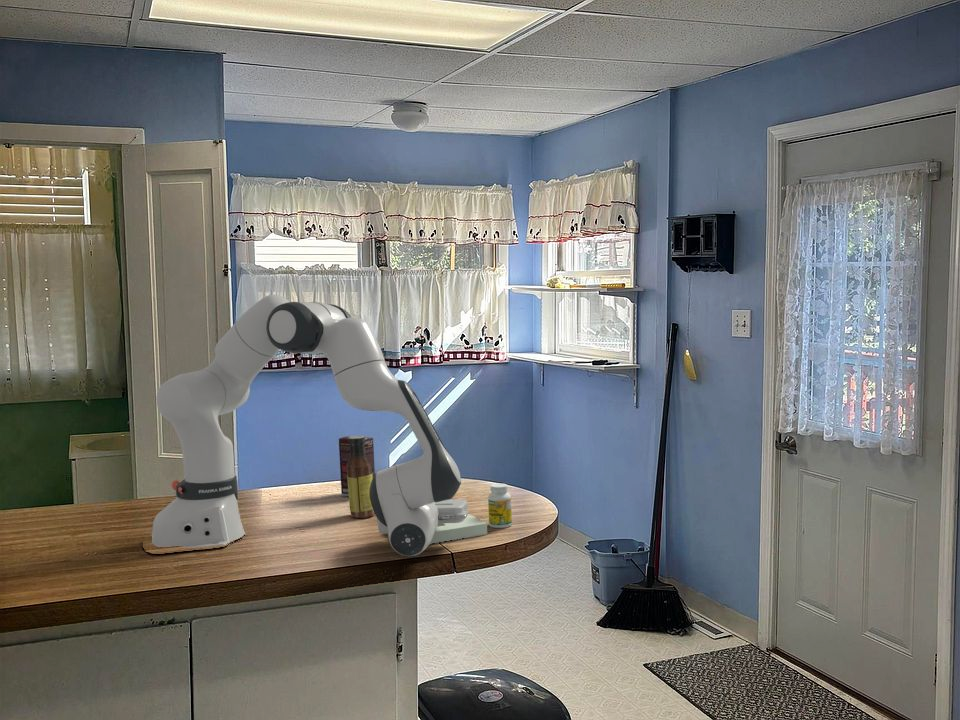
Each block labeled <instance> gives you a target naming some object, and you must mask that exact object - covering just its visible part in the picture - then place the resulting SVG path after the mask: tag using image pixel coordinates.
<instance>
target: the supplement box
mask: <svg viewBox="0 0 960 720" xmlns="http://www.w3.org/2000/svg"><path fill="white" fill-rule="evenodd" d="M352 436H353V435H352ZM352 436H351V435H347V436H342V437H340V438H338V447H339V448H338V450H339V453H338V455H339V469H340V470H339V471H340V488H341V489H340V490H341V491H340V492H341V496H342V495H343V496H342V497H347V496H348V497H347V498H349V493H348V481H347V462H348V460H349V458H350V444H349V441H348V438H349V437H352ZM364 437H365V451H366V455H367V457H368V459H369V461H370V463H371V469H372V476H374V475H375V473H376V469H375V454H374V453H375V451H374V449H375V446H374V438H373V437H366V436H364Z"/></svg>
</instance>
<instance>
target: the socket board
mask: <svg viewBox="0 0 960 720" xmlns="http://www.w3.org/2000/svg"><path fill="white" fill-rule="evenodd" d="M486 535H488V523H487V522H485V521H484V520H483V519H482V520H481V519H480V518H477V517H475V516H474V515H472V514H470V513H468V515H467V517H466V518H465V520H464V521H462V522H460V523H438V525H437V528H436V530H435V532H434V536H433V538H432V541H431V542H430V544H429V545H433V544H432V543H435V544H440V543H439V542H441V543H444V541H447V542H451V541H450V540H452V541H457V539H458V540H462V538H464V539H469V538H474V537H480V536H486Z"/></svg>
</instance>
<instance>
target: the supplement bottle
mask: <svg viewBox="0 0 960 720" xmlns="http://www.w3.org/2000/svg"><path fill="white" fill-rule="evenodd" d="M508 487H509V485H508V484H506V483H500V482H499V483H493V484H490V487H489V488H490V489H489V490H490V492H491V493H489V495H488V497H487V504H488V505H487V506H488V507H487V508H488V524H489V527H491V528H494V529H505V528H509V527H511V526H512V523H513V516H512V514H513V513H512V496H511V494H510V493H509V492H508V490H509V489H508Z"/></svg>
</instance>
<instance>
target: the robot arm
mask: <svg viewBox="0 0 960 720" xmlns="http://www.w3.org/2000/svg"><path fill="white" fill-rule="evenodd" d="M280 350H281V351H283V352H287V353H290V354H306V355H314V354H323V355H324V356H325V357H326V358H327V360H328V362H329V364H330V368H331V371H332V374H333V377H334V381H335V384H336V387H337V390H338V392H339V394H340V396H341V399H342V400H343V401H344V403H346V404H347V405H349V406H351V407H352V408H355V409H357V410H361V411H367V412H368V411H369V412H386V413H387V412H389V413H396V414H399V415H401V416H402V417H403V418H404V419H405V420H406V421H407V423H408V424H409V425H408V426H409V427H410V429H411V430H412V433H413V434H414V437H415V438H416V439H417V442H418V443H419V445H420V447H421V450H422V451H423V453H422V455H421V456H419V457H416V458H414V459H411V460H407V461H405V462H402V463H399V464H398V463H397V464H395V465H392V466H389V467H386V468H384V469H381V470H378V471H375V475H374V476H373V479H372V481H371V485H370V489H369V496H370V501H371V505H372V508H373V510H374V513H375V514H374V515H375V516H376V524H377V528H378V532H379V534H383V535H384V534H385V535H388V541H389V544H390V546H391V548H392V549H393V550H394V552H396V553H397V554H399V555H401V556H406V557H414V556H418V555H420V554H422V553H423V552H424V551H425V550H426V549H427V548H428V547H429V545H431V544H430V542H431V541H432V538H433V536H434V532H435V530H436V528H437V525H438V523H460V522H462V521H464V520H465V518H466V517H467V515H468V514H469V507H468V506H469V505H468V500H467V499H463V498H462V499H453V498H454V496H455V495H456V493H457V492H458V490H459V488H460V486H461V484H462V478H461V472H460V470H459V467H458V465H457V463H456V462H455V460H454V459H453V457H452V456H451V455H450V454H449V451H448V450H447V449H446V447H445V445H444V443H443V442H442V440H441V438H440V436H439V434H438V432H437V430H436V428H435V426H434V425H433V422H432V421H431V419H430V417H429V416H428V414H427V412H426V410H425V408H424V406H423V405H422V403H421V401H420V400H419V397H418V396H417V394H416V392H415V391H414V389H413V388H412V387H411V385H410V384H409V383H408V382H407V381H406V380H401V379H398V378H397V377H396V376H394V374H393V373H392V372H391V371H390V369H389V368H388V366H387V362H386V360H385V357H384V354H383V352H382V349H381V346H380V344H379V342H378V340H377V338H376V336H375V334H374V332H373V330H372V328H371V327H370V325H369V324H368V322H367V321H366V320H364V319H362V318H359V317H353V316H352V315H351V314H350V313H349V312H348V311H347V310H346V309H344V308H342V307H341V306H338V305H336V304H330V303H329V304H328V303H323V302H318V301H308V302H306V301H305V302H304V301H303V302H302V301H301V302H298V301H290V300H288V299H287V298H286V297H283V296H281V295H278V294H269V295H265V296H264V297H262V298H261V299H260V300H258V301H257V302H255V303H254V304H253V305H251V307H250V308H248V309H247V310H246V311H245V312H244V313H243V314H242V315H241V316H240V317H239V318H238V319H237V321H235V322H234V323H233V324H232V326H231V327H230V328H229V329H228V330H227V332H226V333H225V334H223V336H222V337H221V338H220V339H219V340H218V342H217V343H216V345H215V348H214V355H215V357H214V358H213V360H212V362H211V363H210V364H209V365H208V366H206V367H204V368H202V369H200V370H196V371H190V372H185V373H181V374H178V375H176V376H174V377H173V376H172V377H171V378H169V379H168V380H166V381H164V382H163V383H162V384H161V385H160V386H159V388H158V390H157V392H156V399H155V401H156V405H157V409H158V411H159V413H160V415H161V416H162V417H163V418H164V419H165V420H166V421H168V422H169V423H170V424H171V425H172V427H173V428H174V430H175V432H176V435H177V437H178V439H179V442H180V447H181V452H182V453H181V454H182V461H183V462H182V463H183V464H182V465H183V476H184V479H183V480H181V481H179V480H177V479H175V480H172V482H171V488H172V489H173V490H174V491H175V496H176V497H175V498H174V499H173V500H172V501H171V502H169V504H168V505H166V506H165V507H164V508H163V509H162V510H161V511H159V512H158V513H157V514H156V516H155V517H154V520H153V523H152V529H151V535H152V543H153V544H154V545H155V546H157V547H171V546H183V547H185V548H190V547H191V548H195V547H206V546H208V547H209V546H219V545H226V544H227V543H229V542H230V541H233V540H236V539H238V538H240V537H242V536H243V535H244V534H245V535H246V531H245V530H244V526H243V523H242V520H241V515H240V511H239V504H238V499H239V484H238V477H237V475H236V474H235V473H236V472H235V458H234V456H235V455H234V445H233V442H232V440H231V439H230V438H229V437H228V436H226V435H225V434H224V433H223V431H222V429H221V427H220V422H219V416H223V415H226V414H227V415H228V414H229V413H232V412H234V411H235V410H237V409H238V408H240V407H241V406H243V405H244V404H245V403H246V402H247V400H248V399H249V397H250V392H251V388H250V386H251V384H252V382H253V381H254V379H255V378H256V377H257V375H258V374H259V373H260V372H261V371H262V370H263V368H265V366H266V365H267V364H268V363H269V362H270V361H271V360H272V359H273V358H274V357H275V356H276V354H277V353H278V352H279V351H280Z"/></svg>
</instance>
